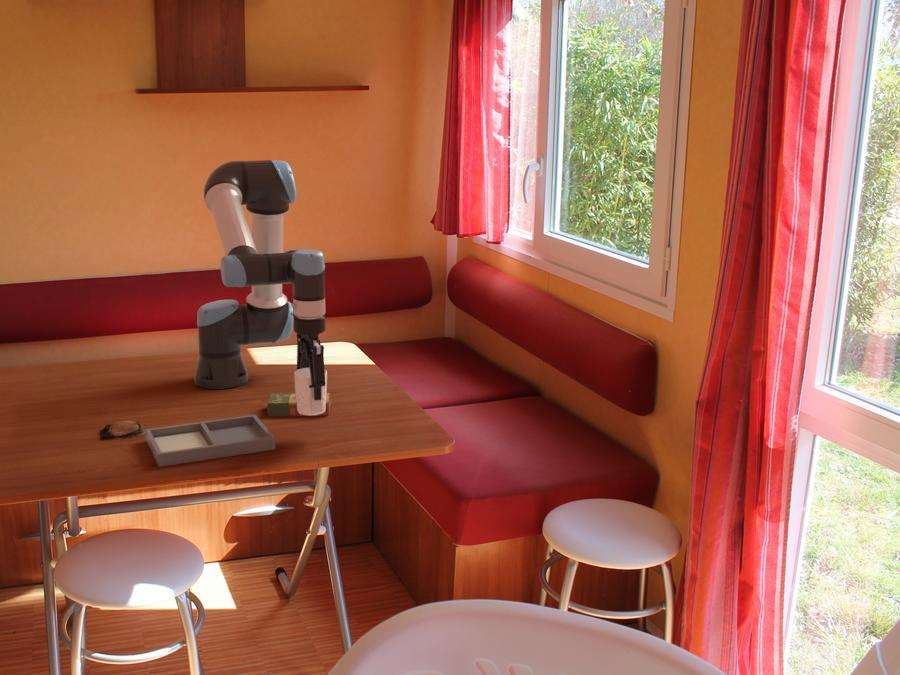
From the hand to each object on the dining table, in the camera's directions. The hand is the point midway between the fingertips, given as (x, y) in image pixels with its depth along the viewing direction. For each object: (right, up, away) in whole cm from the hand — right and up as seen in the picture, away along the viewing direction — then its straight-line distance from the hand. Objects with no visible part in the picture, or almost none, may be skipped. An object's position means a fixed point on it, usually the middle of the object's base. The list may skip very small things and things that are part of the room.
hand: (311, 406), depth 241 cm
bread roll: (-47, -8, +4) cm, 48 cm away
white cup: (0, -1, 0) cm, 1 cm away
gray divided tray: (-24, -9, -4) cm, 26 cm away
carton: (-6, -3, +21) cm, 22 cm away
